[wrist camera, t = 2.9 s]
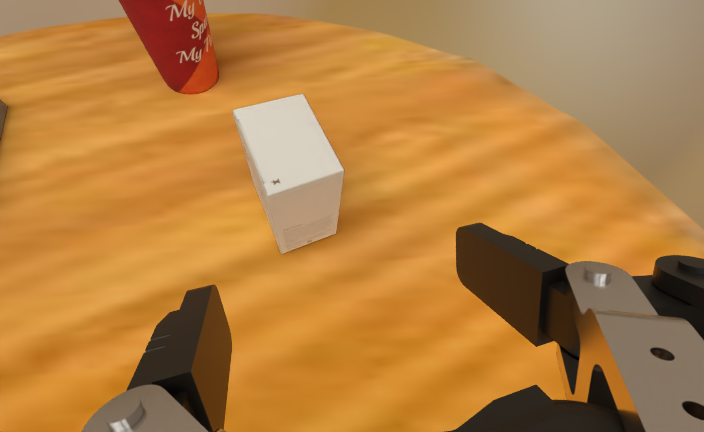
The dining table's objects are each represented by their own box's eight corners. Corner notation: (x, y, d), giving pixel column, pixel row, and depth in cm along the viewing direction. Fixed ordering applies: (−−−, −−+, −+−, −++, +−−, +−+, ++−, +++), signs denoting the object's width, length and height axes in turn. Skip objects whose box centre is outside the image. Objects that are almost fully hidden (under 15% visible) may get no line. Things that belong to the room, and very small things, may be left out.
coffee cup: (222, 104, 37) (172, -52, 24) (145, 98, 36) (49, -67, 23) (234, 55, 41) (197, -104, 28) (165, 48, 40) (92, -118, 27)
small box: (336, 235, 31) (347, 172, 22) (280, 256, 30) (266, 198, 21) (306, 169, 34) (304, 90, 25) (253, 186, 33) (230, 107, 24)
